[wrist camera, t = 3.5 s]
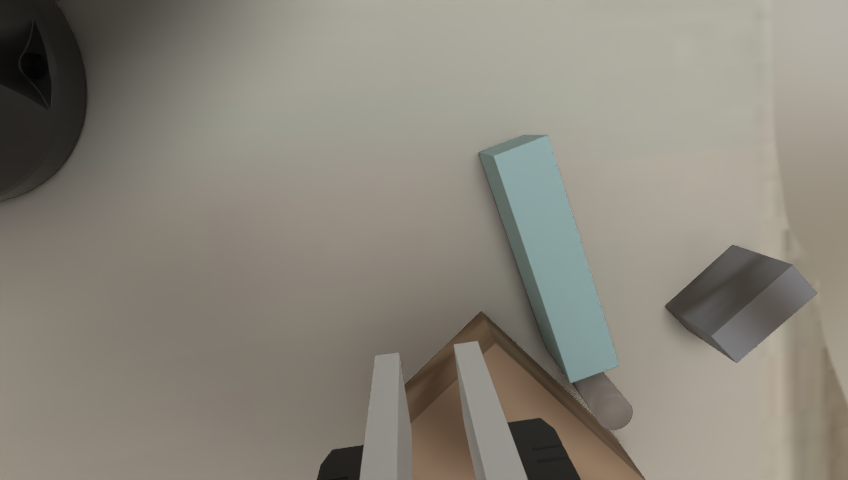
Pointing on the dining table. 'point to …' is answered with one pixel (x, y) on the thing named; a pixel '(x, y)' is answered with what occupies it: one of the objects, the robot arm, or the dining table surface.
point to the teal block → (549, 254)
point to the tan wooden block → (545, 398)
